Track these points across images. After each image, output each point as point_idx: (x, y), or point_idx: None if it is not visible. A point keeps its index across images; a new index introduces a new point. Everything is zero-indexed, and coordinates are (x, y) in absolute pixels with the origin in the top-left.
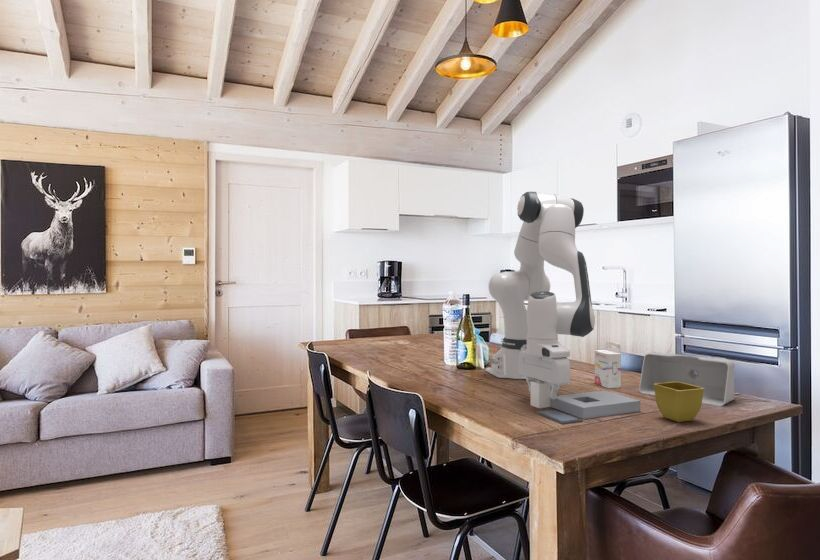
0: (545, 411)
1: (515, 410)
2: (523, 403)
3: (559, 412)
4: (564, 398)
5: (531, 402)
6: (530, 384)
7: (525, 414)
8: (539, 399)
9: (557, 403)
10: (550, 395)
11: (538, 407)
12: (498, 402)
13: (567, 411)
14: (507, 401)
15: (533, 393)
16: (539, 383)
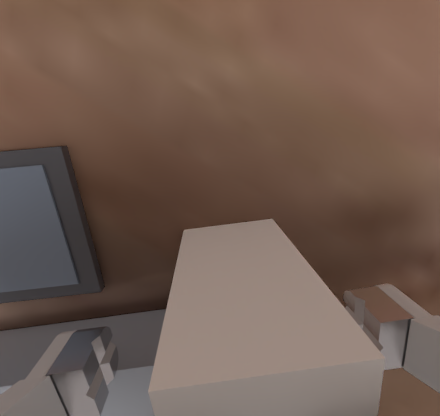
0: (45, 214)
1: (167, 31)
2: (325, 195)
3: (10, 283)
4: (111, 414)
5: (267, 227)
6: (431, 342)
7: (34, 48)
8: (178, 263)
9: (118, 343)
10: (64, 349)
11: (187, 231)
12: (434, 22)
13: (33, 333)
14: (421, 113)
15: (257, 266)
16: (184, 412)
